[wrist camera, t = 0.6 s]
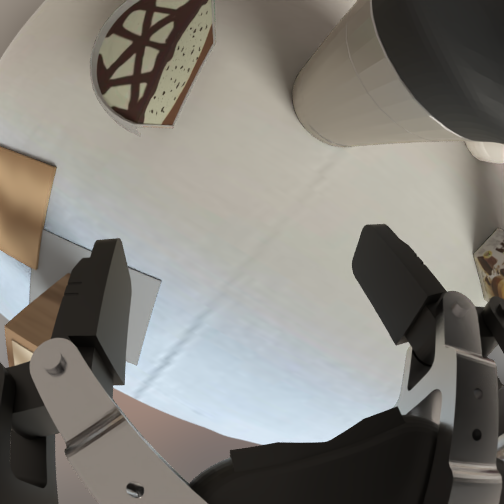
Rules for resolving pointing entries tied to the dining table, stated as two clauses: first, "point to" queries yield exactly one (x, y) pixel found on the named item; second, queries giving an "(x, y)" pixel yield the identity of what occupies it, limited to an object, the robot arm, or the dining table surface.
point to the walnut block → (34, 324)
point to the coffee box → (491, 265)
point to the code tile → (62, 262)
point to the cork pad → (23, 204)
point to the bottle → (487, 151)
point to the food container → (151, 59)
